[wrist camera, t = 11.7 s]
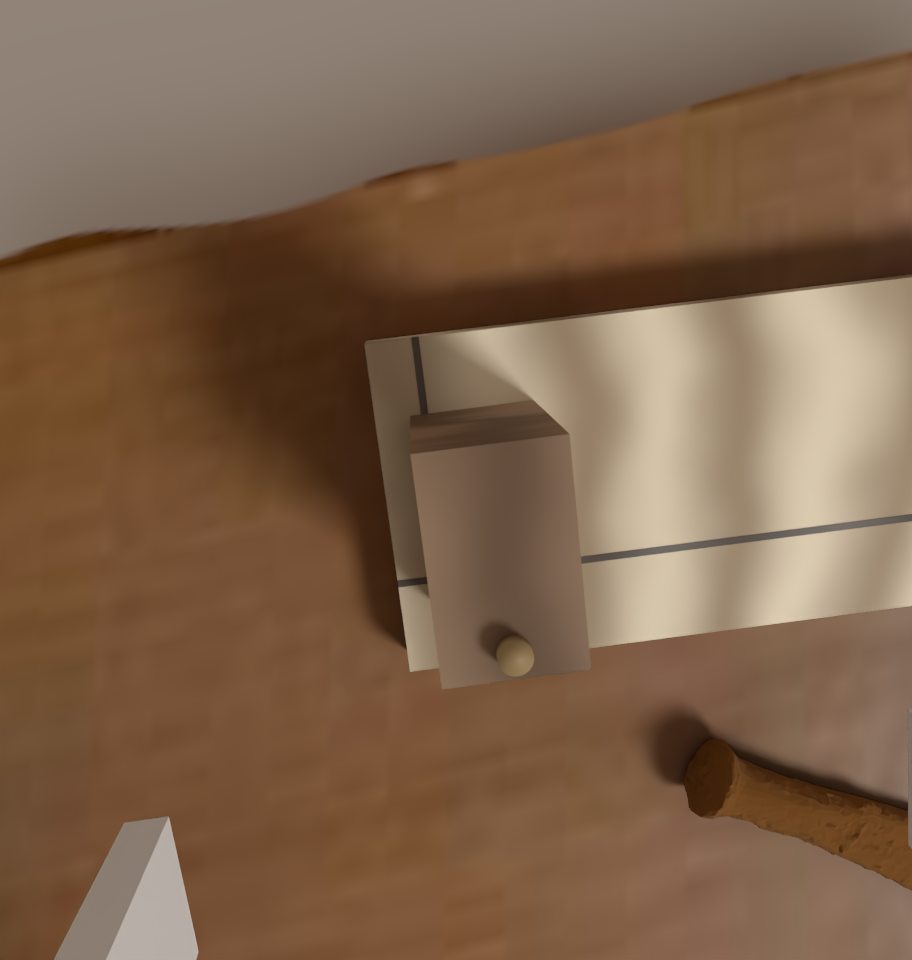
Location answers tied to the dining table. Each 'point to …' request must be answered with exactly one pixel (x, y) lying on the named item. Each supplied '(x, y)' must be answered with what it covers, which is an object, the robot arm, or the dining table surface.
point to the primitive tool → (800, 811)
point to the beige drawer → (500, 543)
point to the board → (691, 453)
